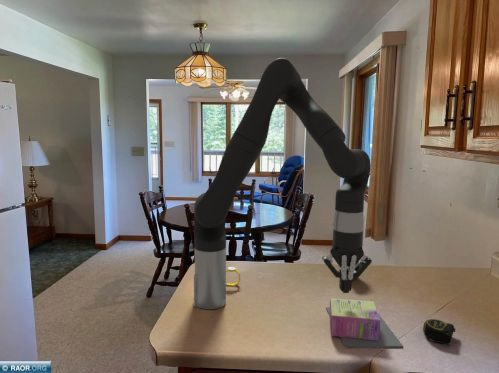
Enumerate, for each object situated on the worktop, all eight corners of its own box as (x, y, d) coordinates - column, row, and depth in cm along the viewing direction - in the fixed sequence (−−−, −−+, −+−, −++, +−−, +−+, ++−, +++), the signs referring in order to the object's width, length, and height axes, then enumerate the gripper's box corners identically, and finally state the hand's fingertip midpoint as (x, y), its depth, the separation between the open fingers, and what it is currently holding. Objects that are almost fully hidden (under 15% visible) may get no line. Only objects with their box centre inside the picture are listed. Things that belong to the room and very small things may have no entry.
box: (330, 336, 94) (379, 341, 92) (331, 315, 93) (380, 319, 91) (328, 317, 104) (373, 320, 102) (329, 297, 103) (374, 300, 101)
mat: (345, 347, 90) (345, 346, 90) (325, 308, 109) (326, 307, 109) (403, 347, 90) (403, 345, 90) (373, 308, 110) (373, 307, 110)
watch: (221, 286, 124) (222, 269, 123) (222, 283, 127) (222, 266, 126) (240, 287, 124) (240, 269, 123) (240, 283, 127) (240, 266, 126)
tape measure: (450, 349, 90) (451, 335, 89) (419, 339, 94) (420, 325, 93) (454, 337, 95) (456, 323, 95) (425, 328, 99) (427, 315, 99)
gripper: (326, 231, 92) (323, 298, 94) (379, 231, 92) (375, 298, 95) (319, 224, 99) (317, 286, 102) (368, 224, 100) (365, 285, 102)
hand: (345, 291), depth 98 cm, fingers closed
